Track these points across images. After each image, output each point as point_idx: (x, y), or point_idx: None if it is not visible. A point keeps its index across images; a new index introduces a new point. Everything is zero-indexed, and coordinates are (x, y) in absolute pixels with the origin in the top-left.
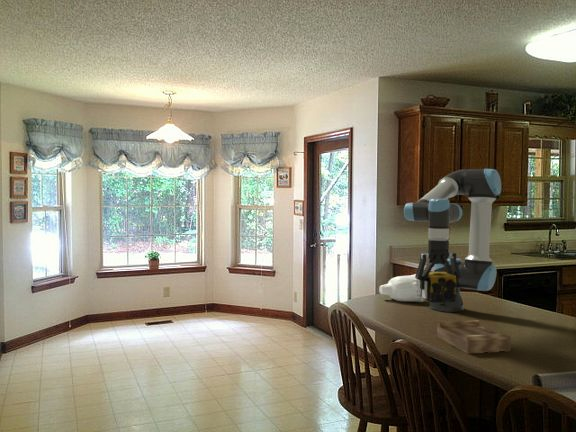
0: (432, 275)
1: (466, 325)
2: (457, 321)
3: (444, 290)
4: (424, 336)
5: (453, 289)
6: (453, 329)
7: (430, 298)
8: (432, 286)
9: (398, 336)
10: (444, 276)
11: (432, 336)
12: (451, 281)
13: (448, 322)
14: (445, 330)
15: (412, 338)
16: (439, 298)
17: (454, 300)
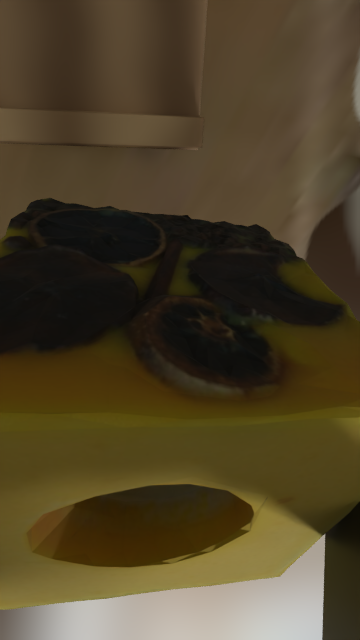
0: (337, 478)
1: (5, 107)
2: (63, 132)
3: (145, 268)
4: (242, 165)
5: (16, 254)
6: (138, 25)
7: (278, 242)
8: (317, 302)
9: (348, 188)
10: (174, 415)
11: (206, 156)
12: (9, 328)
13: (139, 117)
14: (206, 16)
15: (317, 141)
16: (197, 229)
17: (41, 203)
